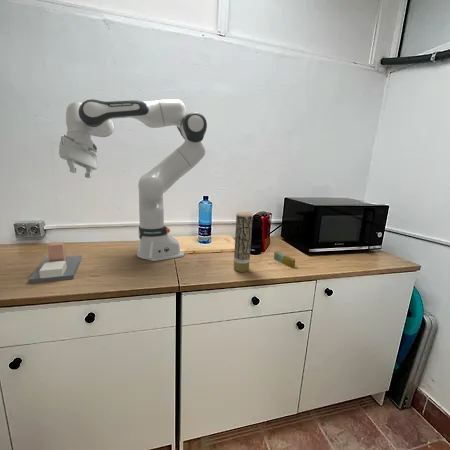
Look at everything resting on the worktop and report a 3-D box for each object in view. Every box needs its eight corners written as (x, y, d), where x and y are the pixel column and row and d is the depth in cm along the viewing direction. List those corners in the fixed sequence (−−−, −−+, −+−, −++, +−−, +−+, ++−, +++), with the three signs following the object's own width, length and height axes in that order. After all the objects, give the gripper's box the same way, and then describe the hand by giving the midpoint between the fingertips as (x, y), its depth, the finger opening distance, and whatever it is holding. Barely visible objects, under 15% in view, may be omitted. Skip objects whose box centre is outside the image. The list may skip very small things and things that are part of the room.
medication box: (273, 259, 130) (273, 252, 129) (277, 258, 132) (278, 251, 131) (290, 268, 120) (291, 260, 119) (295, 267, 122) (295, 259, 121)
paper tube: (248, 273, 112) (252, 215, 106) (232, 271, 113) (235, 214, 108) (249, 267, 119) (253, 212, 113) (234, 265, 120) (237, 211, 114)
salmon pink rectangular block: (66, 262, 110) (64, 241, 108) (64, 265, 107) (62, 244, 105) (52, 263, 109) (50, 242, 107) (50, 267, 105) (47, 245, 103)
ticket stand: (81, 258, 120) (80, 248, 119) (73, 278, 100) (72, 267, 99) (45, 261, 115) (44, 251, 114) (29, 283, 95) (27, 271, 94)
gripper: (69, 131, 100) (70, 167, 99) (100, 149, 120) (101, 179, 120) (53, 133, 101) (55, 169, 100) (87, 151, 121) (88, 181, 120)
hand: (80, 175), depth 110 cm, fingers open, 8 cm apart
